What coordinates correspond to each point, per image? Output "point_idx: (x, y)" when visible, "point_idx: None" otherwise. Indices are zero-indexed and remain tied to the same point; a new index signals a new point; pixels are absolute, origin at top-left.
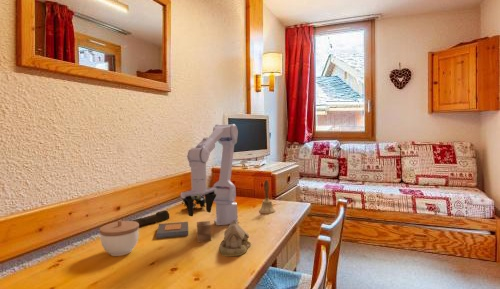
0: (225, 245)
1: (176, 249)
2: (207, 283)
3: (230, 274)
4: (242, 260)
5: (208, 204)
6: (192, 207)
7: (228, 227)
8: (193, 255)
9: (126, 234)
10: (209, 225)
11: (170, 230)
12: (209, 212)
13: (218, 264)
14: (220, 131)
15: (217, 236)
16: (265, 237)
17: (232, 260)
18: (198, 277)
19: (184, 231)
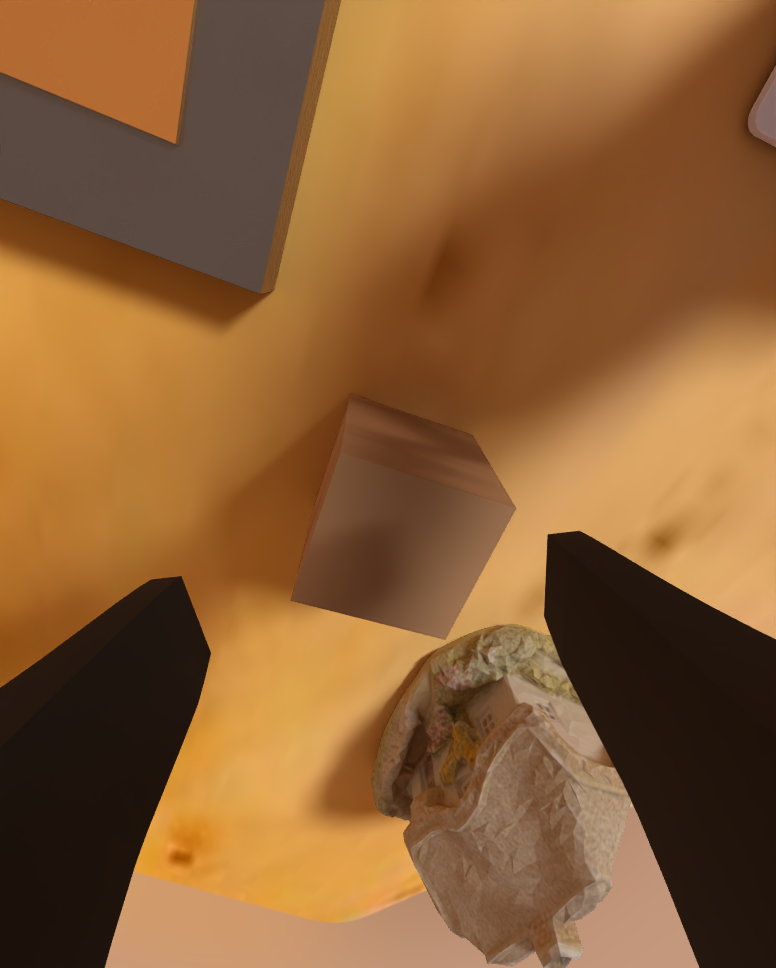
0: (430, 743)
1: (112, 558)
2: (214, 889)
3: (322, 877)
4: None
5: (634, 728)
6: (121, 869)
7: (538, 781)
8: (217, 690)
9: None
10: (431, 634)
11: (11, 108)
12: (551, 615)
13: (312, 811)
14: None
15: (519, 484)
16: None
17: None
18: (190, 854)
19: (216, 276)
